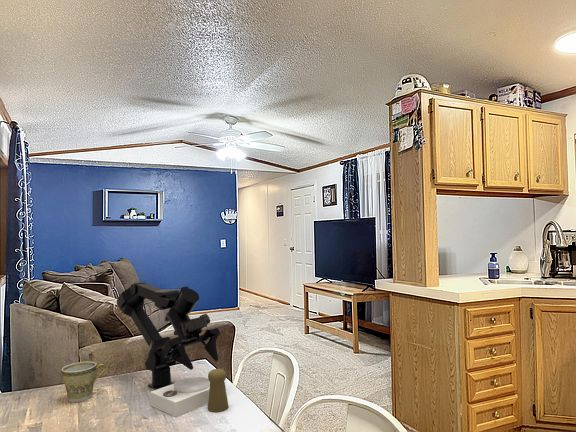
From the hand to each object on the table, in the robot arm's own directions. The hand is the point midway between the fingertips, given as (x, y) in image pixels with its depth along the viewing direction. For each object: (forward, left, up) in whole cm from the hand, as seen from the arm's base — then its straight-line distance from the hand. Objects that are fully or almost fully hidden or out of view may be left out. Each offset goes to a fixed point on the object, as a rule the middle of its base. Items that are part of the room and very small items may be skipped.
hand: (205, 364), depth 131 cm
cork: (+5, 0, -12) cm, 13 cm away
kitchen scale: (-6, -3, -11) cm, 13 cm away
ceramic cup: (-36, -20, -12) cm, 43 cm away
